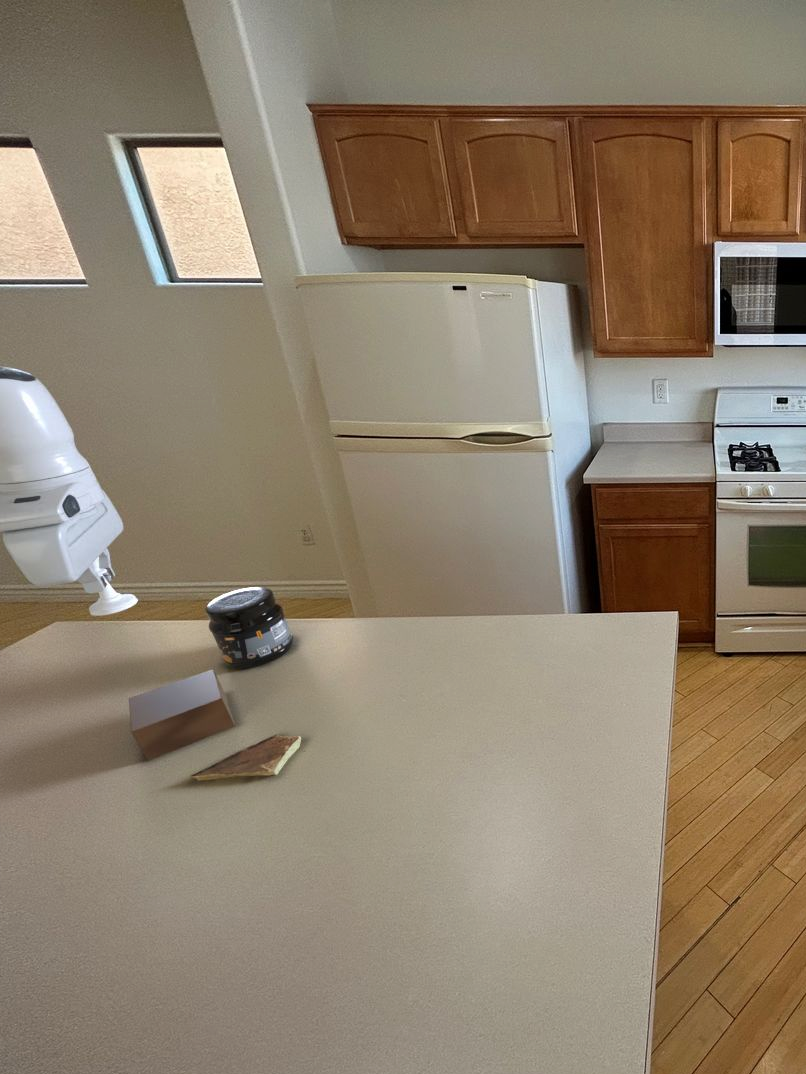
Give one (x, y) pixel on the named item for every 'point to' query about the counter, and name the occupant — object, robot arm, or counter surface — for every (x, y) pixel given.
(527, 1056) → the counter surface
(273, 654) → the supplement container
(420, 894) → the counter surface
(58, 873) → the counter surface
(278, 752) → the shard
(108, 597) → the chess piece
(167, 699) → the walnut block
